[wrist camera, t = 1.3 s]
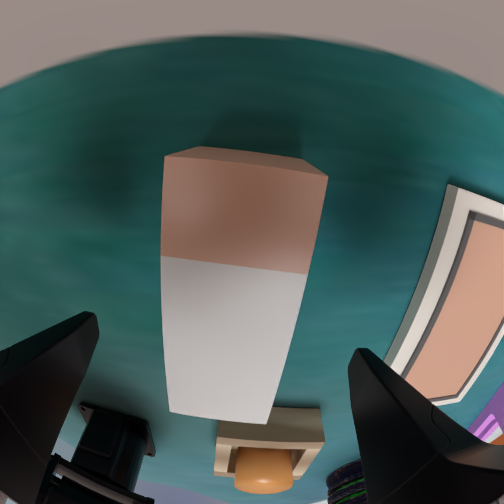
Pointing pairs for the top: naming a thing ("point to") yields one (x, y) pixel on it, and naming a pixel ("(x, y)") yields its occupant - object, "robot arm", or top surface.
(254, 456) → the button
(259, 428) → the button block
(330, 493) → the storage jar
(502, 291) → the picture board
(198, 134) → the top surface
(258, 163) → the two-tone rectangular block
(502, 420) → the bracket
